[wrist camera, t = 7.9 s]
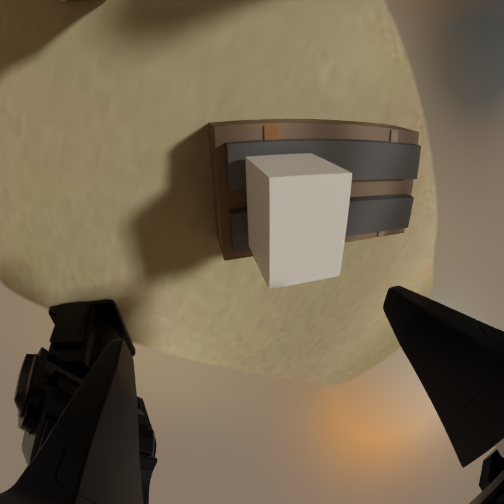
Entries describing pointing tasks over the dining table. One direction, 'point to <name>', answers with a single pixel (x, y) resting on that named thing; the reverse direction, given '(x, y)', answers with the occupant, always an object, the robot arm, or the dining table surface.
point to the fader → (296, 216)
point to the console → (329, 148)
